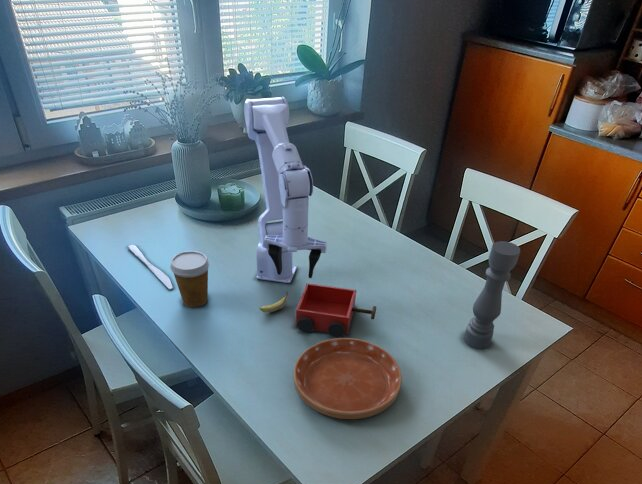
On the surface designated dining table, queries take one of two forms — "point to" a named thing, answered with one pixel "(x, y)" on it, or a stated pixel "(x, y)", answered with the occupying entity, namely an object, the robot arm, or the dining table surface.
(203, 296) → the disposable coffee cup
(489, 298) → the candle holder
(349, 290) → the cart
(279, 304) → the banana
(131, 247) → the butter knife
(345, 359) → the saucer
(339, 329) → the cart wheels
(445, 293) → the dining table surface
